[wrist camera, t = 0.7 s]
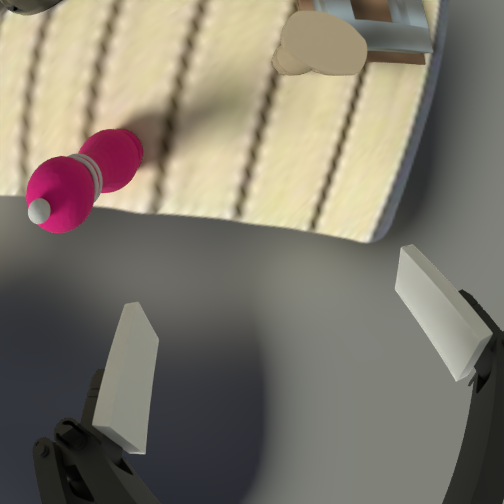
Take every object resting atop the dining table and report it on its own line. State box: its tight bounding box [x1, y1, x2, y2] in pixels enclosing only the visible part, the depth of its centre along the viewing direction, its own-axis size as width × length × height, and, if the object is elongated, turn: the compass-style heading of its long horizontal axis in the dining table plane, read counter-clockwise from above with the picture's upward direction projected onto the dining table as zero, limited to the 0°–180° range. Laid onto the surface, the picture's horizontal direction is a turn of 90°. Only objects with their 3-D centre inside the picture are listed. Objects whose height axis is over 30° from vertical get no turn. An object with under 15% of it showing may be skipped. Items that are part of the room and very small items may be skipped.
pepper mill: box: [26, 129, 143, 233], centre depth 23 cm, size 7×7×20 cm
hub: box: [297, 0, 433, 65], centre depth 22 cm, size 17×17×5 cm
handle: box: [271, 11, 367, 75], centre depth 22 cm, size 5×6×15 cm
